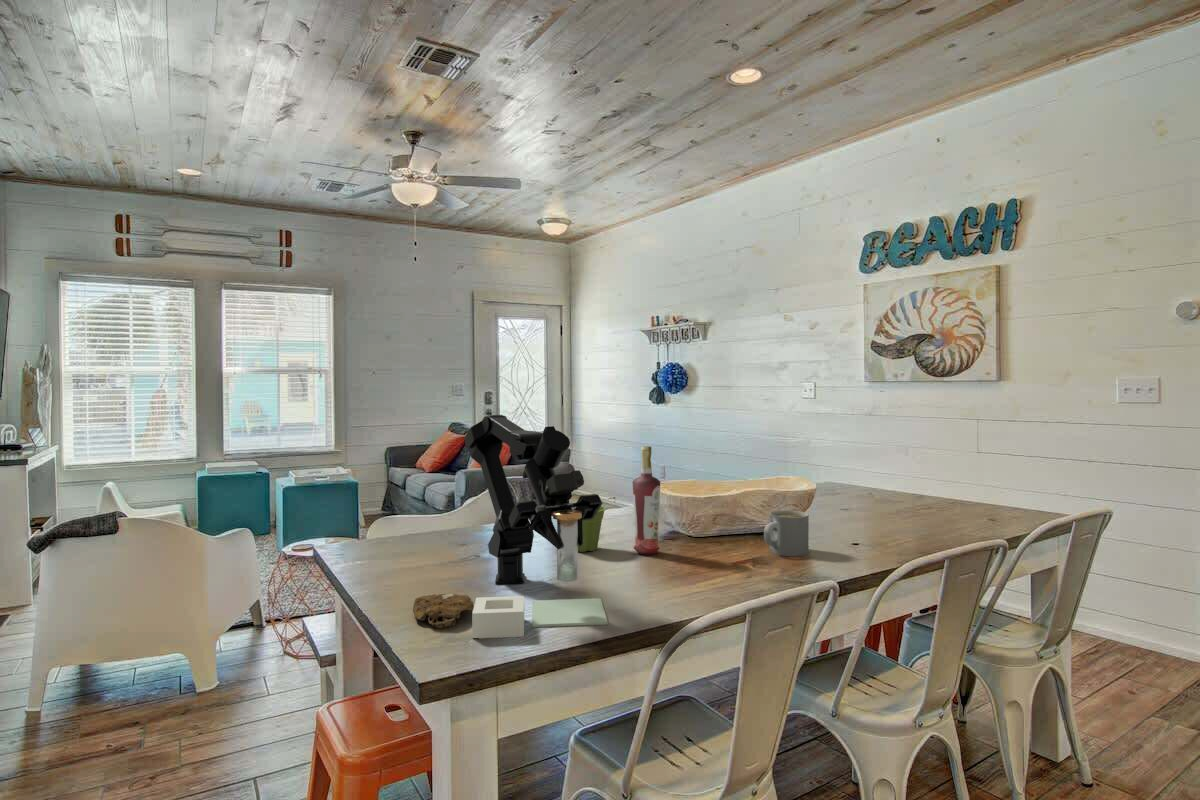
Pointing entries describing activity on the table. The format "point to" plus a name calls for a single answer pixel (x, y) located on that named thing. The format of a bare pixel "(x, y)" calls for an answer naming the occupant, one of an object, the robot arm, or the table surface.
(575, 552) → the glass jar with lid
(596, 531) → the plant pot
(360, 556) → the table surface
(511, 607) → the collar
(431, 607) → the decorative rock
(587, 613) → the sage mat
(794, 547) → the coffee mug
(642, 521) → the liquor
